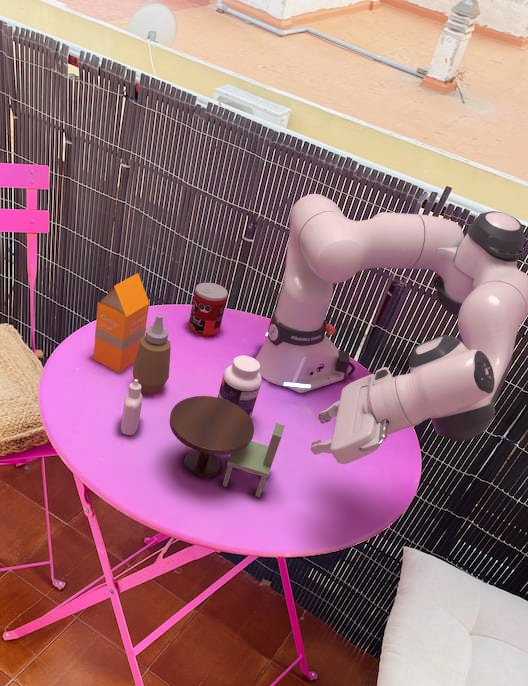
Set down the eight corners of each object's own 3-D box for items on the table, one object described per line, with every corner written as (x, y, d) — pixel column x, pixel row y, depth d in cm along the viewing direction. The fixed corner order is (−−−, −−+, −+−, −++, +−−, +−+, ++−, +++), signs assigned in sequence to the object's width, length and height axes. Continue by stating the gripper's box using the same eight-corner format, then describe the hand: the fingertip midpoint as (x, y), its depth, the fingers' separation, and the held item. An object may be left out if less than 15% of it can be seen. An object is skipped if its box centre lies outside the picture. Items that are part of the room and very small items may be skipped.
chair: (268, 472, 137) (286, 418, 128) (260, 498, 132) (279, 444, 122) (230, 460, 138) (245, 406, 129) (220, 485, 132) (236, 430, 123)
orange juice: (92, 358, 157) (99, 279, 143) (115, 343, 162) (124, 265, 149) (119, 373, 154) (129, 293, 140) (142, 357, 160) (153, 279, 146)
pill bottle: (207, 408, 150) (220, 353, 140) (240, 404, 152) (255, 350, 142) (222, 432, 144) (236, 376, 134) (255, 427, 147) (272, 372, 137)
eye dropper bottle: (112, 428, 140) (118, 380, 132) (130, 416, 144) (137, 369, 135) (128, 438, 138) (135, 391, 130) (146, 426, 142) (153, 379, 134)
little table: (248, 453, 141) (261, 410, 133) (231, 504, 129) (244, 460, 122) (175, 430, 143) (183, 386, 135) (151, 478, 131) (159, 434, 123)
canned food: (183, 322, 174) (190, 282, 166) (212, 320, 177) (220, 281, 169) (194, 338, 169) (202, 299, 162) (223, 336, 172) (232, 297, 164)
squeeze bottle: (168, 380, 155) (180, 310, 143) (164, 401, 149) (177, 330, 137) (133, 373, 155) (142, 303, 142) (128, 394, 149) (137, 323, 136)
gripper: (394, 457, 109) (316, 482, 117) (400, 389, 124) (331, 415, 131) (377, 428, 106) (298, 455, 114) (385, 361, 121) (315, 389, 129)
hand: (316, 433), depth 123 cm, fingers open, 8 cm apart
